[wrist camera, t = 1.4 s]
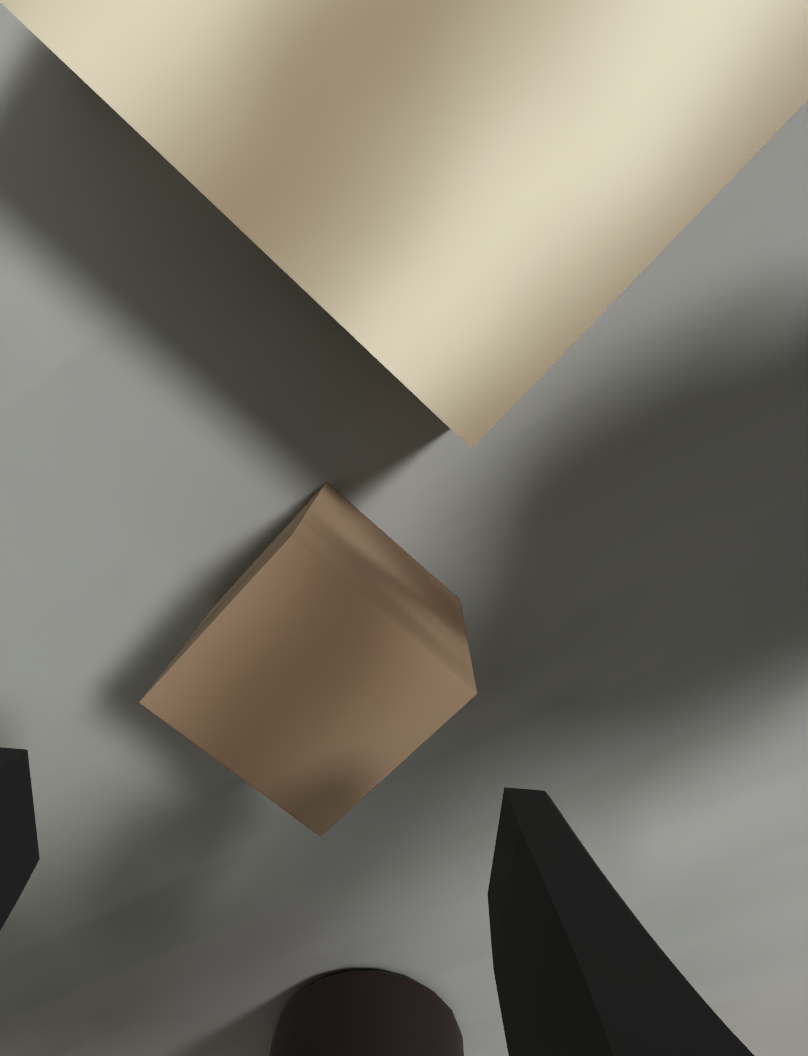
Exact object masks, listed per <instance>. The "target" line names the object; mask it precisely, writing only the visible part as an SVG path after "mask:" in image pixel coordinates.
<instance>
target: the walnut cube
mask: <svg viewBox="0 0 808 1056" xmlns="http://www.w3.org/2000/svg"><path fill="white" fill-rule="evenodd" d="M476 694H477V689H476V684H475V678H474V673H473V668H472V662H471V657H470V652H469V646H468V641H467V635H466V630H465V625H464V619H463V614H462V609H461V603H460V599H459V598H458V597H457V596H456V595H454V594H453V593H452V592H451V591H450V590H449V589H448V588H446V587H445V586H444V585H443V584H442V583H441V582H440V581H439V580H437V579H436V578H435V577H434V576H433V575H432V574H431V573H429V572H428V571H427V570H426V569H425V568H424V567H423V566H422V565H420V564H419V563H418V562H417V561H416V560H415V559H414V558H412V557H411V556H410V555H409V554H408V553H407V552H406V551H404V550H403V549H402V548H401V547H400V546H399V545H398V544H397V543H395V542H394V541H393V540H392V539H391V538H390V537H389V536H387V535H386V534H385V533H384V532H383V531H382V530H381V529H380V528H378V527H377V526H376V525H375V524H374V523H373V522H372V521H370V520H369V519H368V518H367V517H366V516H365V515H364V514H363V513H361V512H360V511H359V510H358V509H357V508H356V507H355V506H353V505H352V504H351V503H350V502H349V501H348V500H347V499H345V498H344V497H343V496H342V495H341V494H340V493H339V492H338V491H336V490H335V489H334V488H333V487H332V486H331V485H330V484H328V483H327V482H326V483H325V484H324V485H323V486H322V487H321V488H320V489H319V491H318V492H317V493H316V494H315V495H314V496H313V497H312V498H311V499H310V500H309V502H308V503H307V504H306V505H305V506H304V507H303V508H302V509H301V510H300V511H299V513H298V514H297V515H296V516H295V517H294V518H293V519H292V520H291V521H290V522H289V524H288V525H287V526H286V527H285V528H284V529H283V530H282V531H281V532H280V534H279V535H278V536H277V537H276V538H275V539H274V540H273V541H272V542H271V543H270V545H269V546H268V547H267V548H266V549H265V550H264V551H263V552H262V553H261V554H260V556H259V557H258V558H257V559H256V560H255V561H254V562H253V563H252V564H251V565H250V567H249V568H248V569H247V570H246V571H245V572H244V573H243V574H242V575H241V576H240V578H239V579H238V580H237V581H236V582H235V583H234V584H233V585H232V586H231V587H230V589H229V590H228V591H227V592H226V593H225V594H224V595H223V596H222V597H221V599H220V600H219V601H218V602H217V603H216V604H215V605H214V606H213V607H212V609H211V610H210V611H209V613H208V614H207V615H206V616H205V618H204V619H203V620H202V622H201V623H200V624H199V626H198V627H197V628H196V629H195V631H194V632H193V633H192V635H191V636H190V637H189V638H188V640H187V641H186V642H185V644H184V645H183V646H182V647H181V649H180V650H179V651H178V653H177V654H176V655H175V657H174V658H173V659H172V660H171V662H170V663H169V664H168V666H167V667H166V668H165V669H164V671H163V672H162V673H161V675H160V676H159V677H158V679H157V680H156V681H155V682H154V684H153V685H152V686H151V688H150V689H149V690H148V691H147V693H146V694H145V695H144V697H143V698H142V699H141V700H140V702H139V703H140V704H142V705H143V706H144V707H146V708H147V709H148V710H150V711H151V712H152V713H154V714H155V715H156V716H158V717H159V718H161V719H162V720H163V721H165V722H166V723H167V724H169V725H170V726H171V727H173V728H174V729H175V730H177V731H178V732H179V733H181V734H182V735H184V736H185V737H186V738H188V739H189V740H190V741H192V742H193V743H194V744H196V745H197V746H198V747H200V748H201V749H202V750H204V751H205V752H207V753H208V754H209V755H211V756H212V757H213V758H215V759H216V760H217V761H219V762H220V763H221V764H223V765H224V766H225V767H227V768H228V769H230V770H231V771H232V772H234V773H235V774H236V775H238V776H239V777H240V778H242V779H243V780H244V781H246V782H247V783H248V784H250V785H251V786H253V787H254V788H255V789H257V790H258V791H259V792H261V793H262V794H263V795H265V796H266V797H267V798H269V799H270V800H271V801H273V802H274V803H276V804H277V805H278V806H280V807H281V808H282V809H284V810H285V811H286V812H288V813H289V814H290V815H292V816H293V817H294V818H296V819H297V820H298V821H300V822H301V823H303V824H304V825H305V826H307V827H308V828H309V829H311V830H312V831H313V832H315V833H316V834H317V835H319V836H321V835H322V834H324V833H325V832H326V831H327V830H328V829H329V828H330V827H331V826H332V825H333V824H335V823H336V822H337V821H338V820H339V819H340V818H341V817H342V816H343V815H344V814H346V813H347V812H348V811H349V810H350V809H351V808H352V807H353V806H354V805H355V804H357V803H358V802H359V801H360V800H361V799H362V798H363V797H364V796H365V795H366V794H368V793H369V792H370V791H371V790H372V789H373V788H374V787H375V786H376V785H377V784H379V783H380V782H381V781H382V780H383V779H384V778H385V777H386V776H387V775H388V774H389V773H391V772H392V771H393V770H394V769H395V768H396V767H397V766H398V765H399V764H400V763H402V762H403V761H404V760H405V759H406V758H407V757H408V756H409V755H410V754H411V753H413V752H414V751H415V750H416V749H417V748H418V747H419V746H420V745H421V744H422V743H424V742H425V741H426V740H427V739H428V738H429V737H430V736H431V735H432V734H433V733H435V732H436V731H437V730H438V729H439V728H440V727H441V726H442V725H443V724H444V723H446V722H447V721H448V720H449V719H450V718H451V717H452V716H453V715H454V714H455V713H457V712H458V711H459V710H460V709H461V708H462V707H463V706H464V705H465V704H466V703H468V702H469V701H470V700H471V699H472V698H473V697H474V696H475V695H476Z"/></svg>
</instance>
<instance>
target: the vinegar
mask: <svg viewBox="0 0 808 1056" xmlns="http://www.w3.org/2000/svg"><path fill="white" fill-rule="evenodd" d="M270 1056H464V1052H463V1038H462V1035H461V1031H460V1029H459V1026H458V1024H457V1022H456V1019H455V1017H454V1014H453V1012H452V1010H451V1009H450V1008H449V1007H448V1006H447V1005H446V1004H445V1003H444V1002H443V1001H442V999H441V998H440V997H439V996H438V995H437V994H436V993H435V992H433V991H432V990H430V989H429V988H427V987H425V986H423V985H421V984H419V983H418V982H416V981H414V980H412V979H410V978H409V977H405V976H401V975H397V974H393V973H389V972H386V971H382V970H351V971H347V972H343V973H339V974H334V975H330V976H326V977H324V978H322V979H321V980H319V981H317V982H315V983H313V984H311V985H310V986H308V987H306V988H304V989H302V990H301V991H299V993H298V994H297V995H296V996H295V997H294V998H293V999H292V1000H291V1001H290V1002H289V1003H288V1005H287V1006H286V1007H285V1008H284V1010H283V1012H282V1014H281V1016H280V1019H279V1022H278V1025H277V1028H276V1030H275V1033H274V1036H273V1041H272V1046H271V1051H270Z"/></svg>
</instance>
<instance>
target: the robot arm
mask: <svg viewBox="0 0 808 1056" xmlns="http://www.w3.org/2000/svg"><path fill="white" fill-rule="evenodd" d="M38 861H39V851H38V841H37V832H36V823H35V814H34V805H33V796H32V787H31V778H30V769H29V760H28V751H27V750H24V749H12V748H0V930H1V928H2V926H3V925H4V923H5V921H6V919H7V918H8V916H9V914H10V913H11V911H12V909H13V907H14V906H15V904H16V902H17V900H18V899H19V897H20V895H21V893H22V891H23V889H24V887H25V885H26V884H27V882H28V880H29V878H30V876H31V874H32V872H33V870H34V869H35V867H36V865H37V863H38ZM488 904H489V917H490V931H491V943H492V954H493V966H494V974H495V980H496V985H497V991H498V997H499V1003H500V1008H501V1014H502V1020H503V1025H504V1031H505V1037H506V1042H507V1048H508V1053H509V1056H754V1055H753V1054H752V1053H751V1052H750V1051H749V1050H748V1049H747V1047H746V1046H745V1045H744V1044H743V1043H742V1042H741V1041H740V1040H739V1039H738V1038H737V1037H736V1036H735V1035H734V1034H733V1033H732V1031H731V1030H730V1029H729V1028H728V1027H727V1026H726V1025H725V1024H724V1023H723V1021H722V1020H721V1019H720V1018H719V1017H718V1016H717V1015H716V1014H715V1013H714V1011H713V1010H712V1009H711V1008H710V1007H709V1006H708V1004H707V1003H706V1002H705V1001H704V1000H703V999H702V998H701V996H700V995H699V994H698V993H697V992H696V991H695V989H694V988H693V987H692V986H691V985H690V983H689V982H688V981H687V980H686V979H685V977H684V976H683V975H682V974H681V973H680V971H679V970H678V969H677V968H676V967H675V965H674V964H673V963H672V962H671V961H670V959H669V958H668V957H667V956H666V955H665V953H664V952H663V951H662V950H661V948H660V947H659V946H658V945H657V943H656V942H655V941H654V940H653V938H652V937H651V936H650V935H649V933H648V932H647V931H646V930H645V928H644V927H643V926H642V924H641V923H640V922H639V920H638V919H637V918H636V917H635V915H634V914H633V913H632V911H631V910H630V909H629V907H628V906H627V905H626V903H625V902H624V901H623V899H622V898H621V897H620V896H619V894H618V893H617V892H616V890H615V889H614V888H613V886H612V885H611V884H610V882H609V881H608V880H607V878H606V877H605V875H604V874H603V873H602V871H601V870H600V869H599V867H598V866H597V864H596V863H595V862H594V860H593V859H592V857H591V856H590V855H589V853H588V852H587V850H586V849H585V847H584V846H583V845H582V843H581V842H580V840H579V839H578V837H577V836H576V835H575V833H574V832H573V830H572V829H571V827H570V826H569V824H568V823H567V821H566V820H565V819H564V817H563V816H562V814H561V813H560V811H559V810H558V808H557V807H556V805H555V804H554V802H553V801H552V799H551V798H550V797H549V796H548V794H547V793H546V792H545V791H541V790H529V789H516V788H504V794H503V800H502V806H501V813H500V819H499V826H498V832H497V838H496V845H495V851H494V857H493V864H492V870H491V877H490V883H489V889H488Z"/></svg>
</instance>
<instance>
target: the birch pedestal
mask: <svg viewBox="0 0 808 1056" xmlns="http://www.w3.org/2000/svg"><path fill="white" fill-rule="evenodd" d="M0 2H1V3H2V4H3V5H4V6H5V7H6V8H7V9H8V10H9V11H10V12H11V13H12V14H13V15H14V16H15V17H16V18H18V19H19V20H20V21H21V22H22V23H23V24H24V25H25V26H26V27H27V28H28V29H29V30H30V31H31V32H32V33H33V34H34V35H35V36H37V37H38V38H39V39H40V40H41V41H42V42H43V43H44V44H45V45H46V46H47V47H48V48H49V49H50V50H51V51H52V52H53V53H54V54H56V55H57V56H58V57H59V58H60V59H61V60H62V61H63V62H64V63H65V64H66V65H67V66H68V67H69V68H70V69H71V70H72V71H73V72H74V73H76V74H77V75H78V76H79V77H80V78H81V79H82V80H83V81H84V82H85V83H86V84H87V85H88V86H89V87H90V88H91V89H92V90H93V91H95V92H96V93H97V94H98V95H99V96H100V97H101V98H102V99H103V100H104V101H105V102H106V103H107V104H108V105H109V106H110V107H111V108H112V109H114V110H115V111H116V112H117V113H118V114H119V115H120V116H121V117H122V118H123V119H124V120H125V121H126V122H127V123H128V124H129V125H130V126H131V127H133V128H134V129H135V130H136V131H137V132H138V133H139V134H140V135H141V136H142V137H143V138H144V139H145V140H146V141H147V142H148V143H149V144H150V145H152V146H153V147H154V148H155V149H156V150H157V151H158V152H159V153H160V154H161V155H162V156H163V157H164V158H165V159H166V160H167V161H168V162H169V163H170V164H172V165H173V166H174V167H175V168H176V169H177V170H178V171H179V172H180V173H181V174H182V175H183V176H184V177H185V178H186V179H187V180H188V181H189V182H191V183H192V184H193V185H194V186H195V187H196V188H197V189H198V190H199V191H200V192H201V193H202V194H203V195H204V196H205V197H206V198H207V199H208V200H210V201H211V202H212V203H213V204H214V205H215V206H216V207H217V208H218V209H219V210H220V211H221V212H222V213H223V214H224V215H225V216H226V217H227V218H229V219H230V220H231V221H232V222H233V223H234V224H235V225H236V226H237V227H238V228H239V229H240V230H241V231H242V232H243V233H244V234H245V235H246V236H248V237H249V238H250V239H251V240H252V241H253V242H254V243H255V244H256V245H257V246H258V247H259V248H260V249H261V250H262V251H263V252H264V253H265V254H266V255H268V256H269V257H270V258H271V259H272V260H273V261H274V262H275V263H276V264H277V265H278V266H279V267H280V268H281V269H282V270H283V271H284V272H285V273H287V274H288V275H289V276H290V277H291V278H292V279H293V280H294V281H295V282H296V283H297V284H298V285H299V286H300V287H301V288H302V289H303V290H304V291H306V292H307V293H308V294H309V295H310V296H311V297H312V298H313V299H314V300H315V301H316V302H317V303H318V304H319V305H320V306H321V307H322V308H323V309H325V310H326V311H327V312H328V313H329V314H330V315H331V316H332V317H333V318H334V319H335V320H336V321H337V322H338V323H339V324H340V325H341V326H342V327H344V328H345V329H346V330H347V331H348V332H349V333H350V334H351V335H352V336H353V337H354V338H355V339H356V340H357V341H358V342H359V343H360V344H361V345H363V346H364V347H365V348H366V349H367V350H368V351H369V352H370V353H371V354H372V355H373V356H374V357H375V358H376V359H377V360H378V361H379V362H380V363H381V364H383V365H384V366H385V367H386V368H387V369H388V370H389V371H390V372H391V373H392V374H393V375H394V376H395V377H396V378H397V379H398V380H399V381H400V382H402V383H403V384H404V385H405V386H406V387H407V388H408V389H409V390H410V391H411V392H412V393H413V394H414V395H415V396H416V397H417V398H418V399H419V400H421V401H422V402H423V403H424V404H425V405H426V406H427V407H428V408H429V409H430V410H431V411H432V412H433V413H434V414H435V415H436V416H437V417H438V418H440V419H441V420H442V421H443V422H444V423H445V424H446V425H447V426H448V427H449V428H450V429H451V430H452V431H453V432H454V433H455V434H456V435H457V436H459V437H460V438H461V439H462V440H463V441H464V442H465V443H466V444H467V445H468V446H469V447H470V448H471V449H472V448H473V447H474V446H475V445H476V444H477V443H478V442H479V441H480V439H481V438H482V437H483V436H484V435H485V434H486V433H487V432H488V431H489V430H490V429H491V428H492V427H493V426H494V425H495V424H496V423H497V422H498V421H499V420H500V419H501V418H502V417H503V416H504V415H505V414H506V412H507V411H508V410H509V409H510V408H511V407H512V406H513V405H514V404H515V403H516V402H517V401H518V400H519V399H520V398H521V397H522V396H523V395H524V394H525V393H526V392H527V391H528V390H529V389H530V388H531V387H532V385H533V384H534V383H535V382H536V381H537V380H538V379H539V378H540V377H541V376H542V375H543V374H544V373H545V372H546V371H547V370H548V369H549V368H550V367H551V366H552V365H553V364H554V363H555V362H556V361H557V359H558V358H559V357H560V356H561V355H562V354H563V353H564V352H565V351H566V350H567V349H568V348H569V347H570V346H571V345H572V344H573V343H574V342H575V341H576V340H577V339H578V338H579V337H580V336H581V335H582V334H583V332H584V331H585V330H586V329H587V328H588V327H589V326H590V325H591V324H592V323H593V322H594V321H595V320H596V319H597V318H598V317H599V316H600V315H601V314H602V313H603V312H604V311H605V310H606V309H607V308H608V307H609V305H610V304H611V303H612V302H613V301H614V300H615V299H616V298H617V297H618V296H619V295H620V294H621V293H622V292H623V291H624V290H625V289H626V288H627V287H628V286H629V285H630V284H631V283H632V282H633V281H634V280H635V278H636V277H637V276H638V275H639V274H640V273H641V272H642V271H643V270H644V269H645V268H646V267H647V266H648V265H649V264H650V263H651V262H652V261H653V260H654V259H655V258H656V257H657V256H658V255H659V254H660V253H661V251H662V250H663V249H664V248H665V247H666V246H667V245H668V244H669V243H670V242H671V241H672V240H673V239H674V238H675V237H676V236H677V235H678V234H679V233H680V232H681V231H682V230H683V229H684V228H685V227H686V226H687V224H688V223H689V222H690V221H691V220H692V219H693V218H694V217H695V216H696V215H697V214H698V213H699V212H700V211H701V210H702V209H703V208H704V207H705V206H706V205H707V204H708V203H709V202H710V201H711V200H712V199H713V197H714V196H715V195H716V194H717V193H718V192H719V191H720V190H721V189H722V188H723V187H724V186H725V185H726V184H727V183H728V182H729V181H730V180H731V179H732V178H733V177H734V176H735V175H736V174H737V173H738V171H739V170H740V169H741V168H742V167H743V166H744V165H745V164H746V163H747V162H748V161H749V160H750V159H751V158H752V157H753V156H754V155H755V154H756V153H757V152H758V151H759V150H760V149H761V148H762V147H763V146H764V144H765V143H766V142H767V141H768V140H769V139H770V138H771V137H772V136H773V135H774V134H775V133H776V132H777V131H778V130H779V129H780V128H781V127H782V126H783V125H784V124H785V123H786V122H787V121H788V120H789V119H790V117H791V116H792V115H793V114H794V113H795V112H796V111H797V110H798V109H799V108H800V107H801V106H802V105H803V104H804V103H805V102H806V101H807V100H808V0H0Z"/></svg>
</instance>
